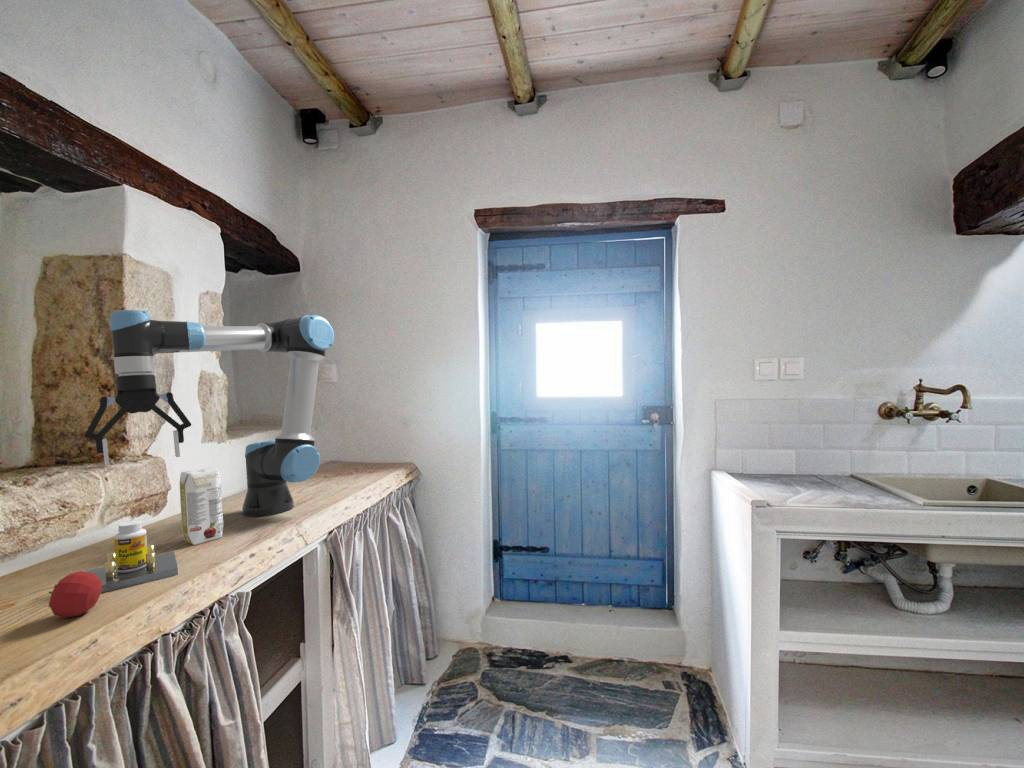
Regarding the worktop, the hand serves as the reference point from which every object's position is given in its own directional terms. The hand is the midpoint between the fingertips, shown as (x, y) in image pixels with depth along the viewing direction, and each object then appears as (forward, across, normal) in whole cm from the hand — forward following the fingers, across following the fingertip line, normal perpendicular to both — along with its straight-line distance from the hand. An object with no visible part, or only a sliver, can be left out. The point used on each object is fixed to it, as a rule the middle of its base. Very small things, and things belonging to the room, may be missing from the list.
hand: (143, 461), depth 114 cm
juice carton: (+25, -11, -6) cm, 28 cm away
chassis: (+24, +4, +11) cm, 26 cm away
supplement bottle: (+22, +4, +11) cm, 25 cm away
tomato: (+24, +13, +27) cm, 38 cm away
